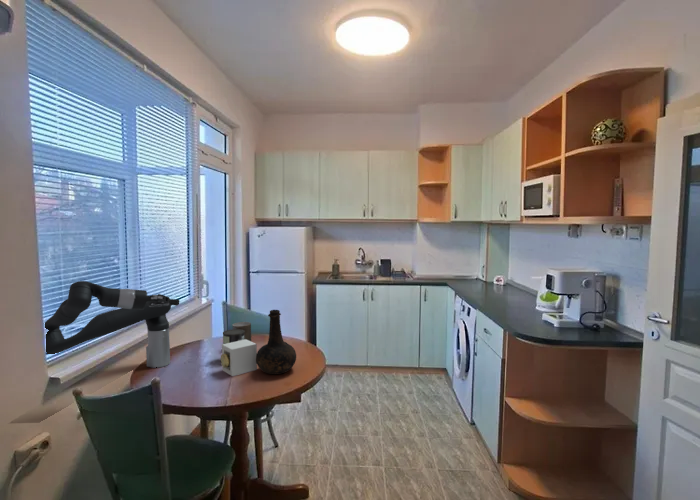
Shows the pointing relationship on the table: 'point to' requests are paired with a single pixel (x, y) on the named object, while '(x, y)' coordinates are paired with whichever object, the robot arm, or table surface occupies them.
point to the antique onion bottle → (275, 349)
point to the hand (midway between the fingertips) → (178, 302)
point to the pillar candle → (246, 327)
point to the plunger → (225, 360)
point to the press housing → (240, 357)
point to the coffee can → (233, 335)
